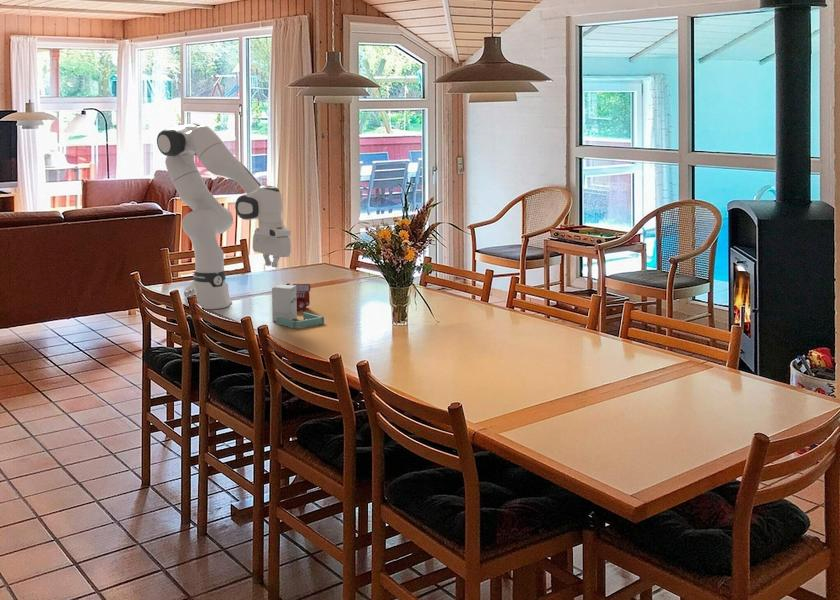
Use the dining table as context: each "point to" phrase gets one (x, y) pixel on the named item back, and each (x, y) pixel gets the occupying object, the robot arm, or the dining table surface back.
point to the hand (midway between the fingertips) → (271, 266)
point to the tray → (302, 321)
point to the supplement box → (284, 302)
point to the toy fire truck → (302, 295)
